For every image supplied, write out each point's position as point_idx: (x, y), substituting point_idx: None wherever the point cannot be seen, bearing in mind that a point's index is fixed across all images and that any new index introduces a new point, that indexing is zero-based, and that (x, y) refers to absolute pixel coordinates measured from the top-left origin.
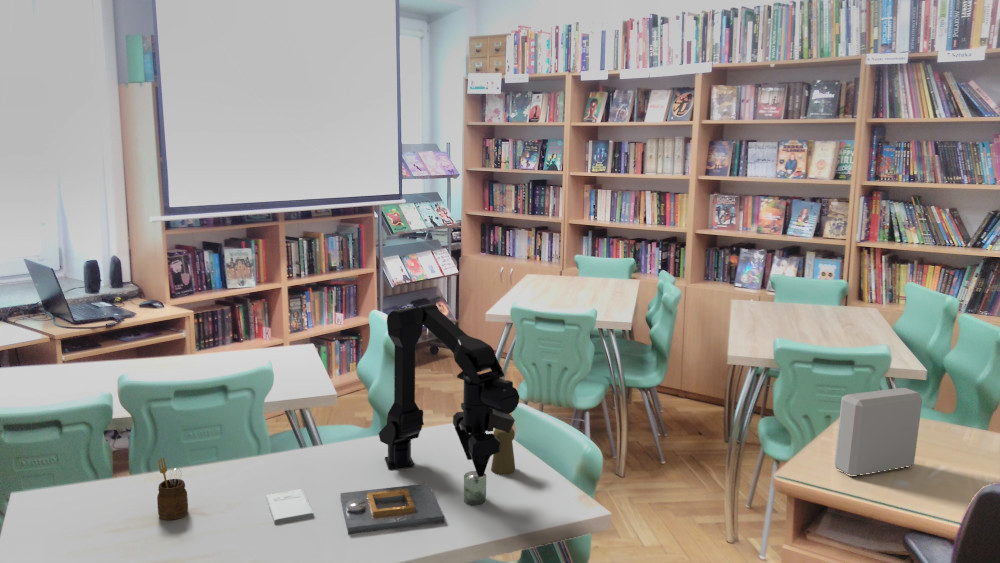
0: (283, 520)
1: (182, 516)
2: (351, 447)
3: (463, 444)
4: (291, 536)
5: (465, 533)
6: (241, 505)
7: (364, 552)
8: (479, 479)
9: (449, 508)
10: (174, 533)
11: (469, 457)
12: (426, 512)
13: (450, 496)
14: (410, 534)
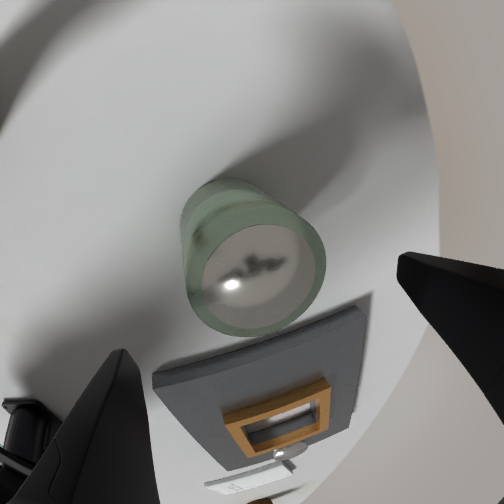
0: (290, 470)
1: (265, 499)
2: None
3: (154, 494)
4: (326, 451)
5: (410, 246)
6: (242, 493)
7: (394, 384)
8: (312, 252)
9: None
10: (293, 490)
11: (135, 376)
12: (338, 357)
13: (193, 313)
14: (376, 351)
